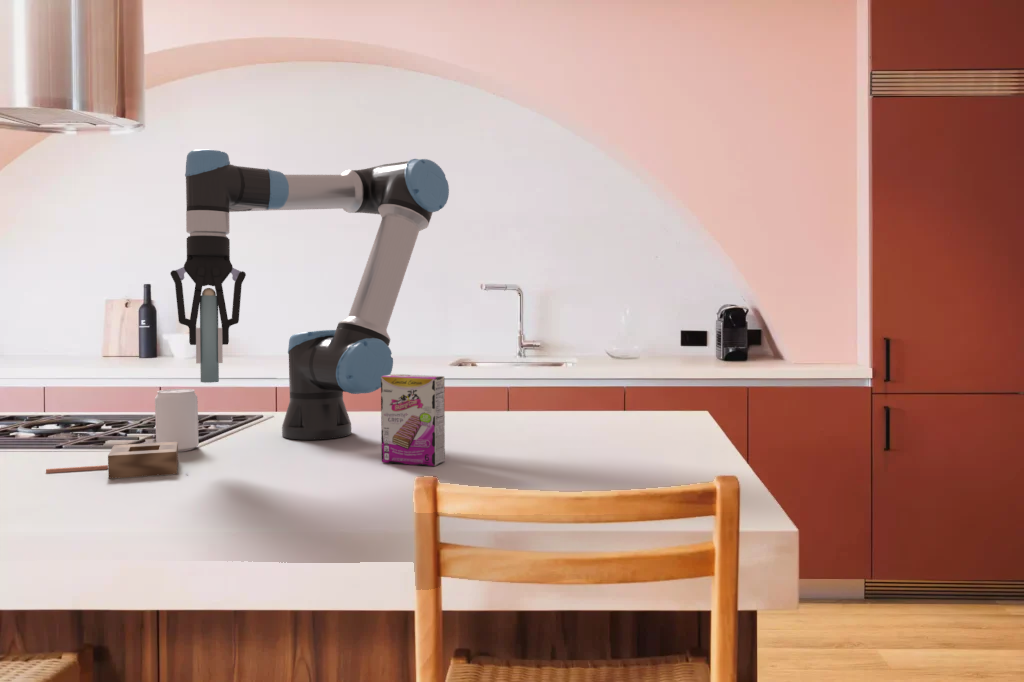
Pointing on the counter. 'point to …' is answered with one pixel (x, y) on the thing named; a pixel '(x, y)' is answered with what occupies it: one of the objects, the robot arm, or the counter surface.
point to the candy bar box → (412, 419)
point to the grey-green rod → (209, 336)
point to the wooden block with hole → (143, 460)
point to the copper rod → (76, 469)
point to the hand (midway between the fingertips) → (209, 362)
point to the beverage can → (177, 418)
